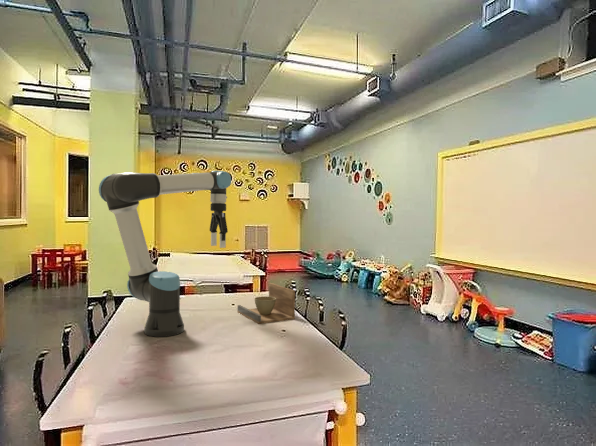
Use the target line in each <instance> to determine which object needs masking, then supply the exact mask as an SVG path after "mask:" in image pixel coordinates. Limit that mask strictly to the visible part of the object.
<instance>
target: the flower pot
mask: <svg viewBox="0 0 596 446" xmlns="http://www.w3.org/2000/svg"><path fill="white" fill-rule="evenodd" d="M275 302H276V298H274V297H269V296H257V297H254V304H255V307H256V308H257V310H258V312H259V313H260V314H262V315H268V314H270V313H271V312H272V310H273V308H274V305H275Z"/></svg>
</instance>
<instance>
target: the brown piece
mask: <svg viewBox="0 0 596 446" xmlns="http://www.w3.org/2000/svg"><path fill="white" fill-rule="evenodd" d="M268 297H274V298H276V302H275V305H274V308H273V310H272V312H271V313H270V314H268V315H262V314H260V313H259V312H258V310H257V307H256V308H255V307H254V308H246V307H245V306H243V305H241V304H238V305H237V313H238V314H239V313H240V314H239V315H241V314H242V316H244V317H245V318H247V319H249V320H250V321H252V322H254V323H256V324H257V325H261V324H269V323H275V322H276V323H277V322H283V321H290V320H295V317H296V316H295V315H296V313H295V312H296V311H295V308H296V307H295V306H296V304H295V303H296V302H295V301H296V300H295V299H296V290H294V289H291V288H288V287H285V286H282V285H278V284H277V283H272V282H268Z"/></svg>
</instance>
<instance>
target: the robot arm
mask: <svg viewBox="0 0 596 446" xmlns="http://www.w3.org/2000/svg"><path fill="white" fill-rule="evenodd" d="M231 184H232V177H231V174H230V173H229V172H227V171H223V170H211V171H210V172H191V173H177V174H176V173H175V174H163V175H161V174H160V175H157V173H155V172H154V173H153V172H152V173H150V172H149V173H147V172H145V173H144V172H132V171H131V172H130V171H128V172H119V173H116V172H115V173H112V174H108V175H106V176H105V177H104V178H102V180H101V181H100V182H99V185H98V193H99V196H100V198H101V199H102V200H103V201H104V202H106V205H107V208H108V211H109V212H112V213H113V214H114V218H115V220H116V224H117V227H118V231H119V234H120V237H121V241H122V245H123V249H124V251H125V254H126V255H125V256H126V257H127V262H128V265H129V268H130V269H129V271H128V273H127V276H128V281H127V283H126V285H127V286H126V288H127V291H128V292H129V294H130V295H131V296H132V297H133V298H135V299H136V300H140V301H144V302H148V303H149V305H148V310H149V312H148V316H147V319H146V320H145V321H146V323H145V324H144V325H145V326H144V335H146V336H148V337H154V338H155V337H158V338H159V337H160V338H161V337H171V336H176V335H179V334H180V335H181V333H183V332H184V331H185V323H184V321H183V318H182V314H181V312H180V308H181V307H180V306H181V301H180V300H181V299H180V298H181V296H180V295H181V290H180V289H181V280H180V276H179V275H178V274H177V273H175V272H172V271H163V270H162V271H159V270H158V267H157V266H158V265H156V264H154V263H153V262H152V259H151V256H150V252H149V248H148V245H147V241H146V237H145V235H144V234H145V233H144V230H143V227H142V223H141V220H140V216H139V212H138V210H137V209H138V207H139V204H140V201H144V200H149V199H155V198H158V197H159V196H160V195H170V194H178V193H188V192H189V193H190V192H198V191H199V192H200V191H210V199H209V200H210V201H209V202H210V211H211V212H212V213H211V218H210V225H209V232H210V246H211V247H213V246H214V247H215V246H216V247H217V240H218V239H217V237H218V235H217V234H219V248H220V249H222V248H223V249H224V248H226V247H227V246H226V245H227V244H226V243H227V238H226V237H227V233H228V224H227V218H226V217H227V216H226V213H225V212H226V211H227V199H228V196H227V188H229V187H230V185H231ZM218 227H219V233H218Z"/></svg>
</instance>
